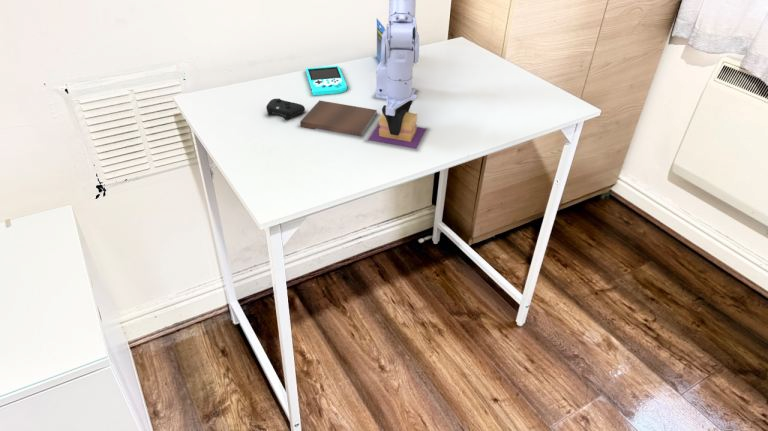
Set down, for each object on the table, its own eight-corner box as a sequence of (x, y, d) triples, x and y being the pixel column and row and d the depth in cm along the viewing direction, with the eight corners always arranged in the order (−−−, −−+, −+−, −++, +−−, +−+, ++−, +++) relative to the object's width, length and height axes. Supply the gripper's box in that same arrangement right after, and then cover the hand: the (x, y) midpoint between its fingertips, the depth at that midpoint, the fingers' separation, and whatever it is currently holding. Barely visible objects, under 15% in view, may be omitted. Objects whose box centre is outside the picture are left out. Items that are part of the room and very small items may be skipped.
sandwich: (379, 136, 127) (379, 117, 124) (385, 126, 130) (385, 108, 127) (410, 142, 125) (411, 123, 122) (416, 132, 129) (417, 113, 125)
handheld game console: (312, 95, 143) (312, 91, 143) (305, 71, 155) (305, 67, 155) (348, 92, 145) (348, 87, 144) (338, 69, 157) (338, 64, 156)
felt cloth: (367, 141, 125) (367, 140, 125) (380, 121, 133) (380, 120, 133) (416, 149, 123) (416, 148, 123) (426, 129, 130) (426, 128, 130)
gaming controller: (307, 107, 136) (297, 99, 130) (300, 127, 136) (290, 119, 130) (276, 99, 139) (264, 91, 133) (269, 118, 139) (258, 111, 133)
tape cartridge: (396, 67, 159) (397, 26, 151) (383, 68, 158) (384, 27, 150) (387, 56, 166) (388, 16, 158) (375, 57, 165) (376, 17, 157)
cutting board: (300, 126, 130) (300, 121, 129) (319, 105, 139) (319, 100, 138) (361, 137, 127) (361, 132, 126) (376, 115, 136) (376, 109, 135)
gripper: (408, 92, 112) (405, 146, 120) (424, 65, 122) (421, 117, 131) (376, 87, 113) (376, 141, 122) (396, 61, 124) (394, 113, 133)
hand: (397, 128), depth 127 cm, fingers closed on sandwich, 5 cm apart
